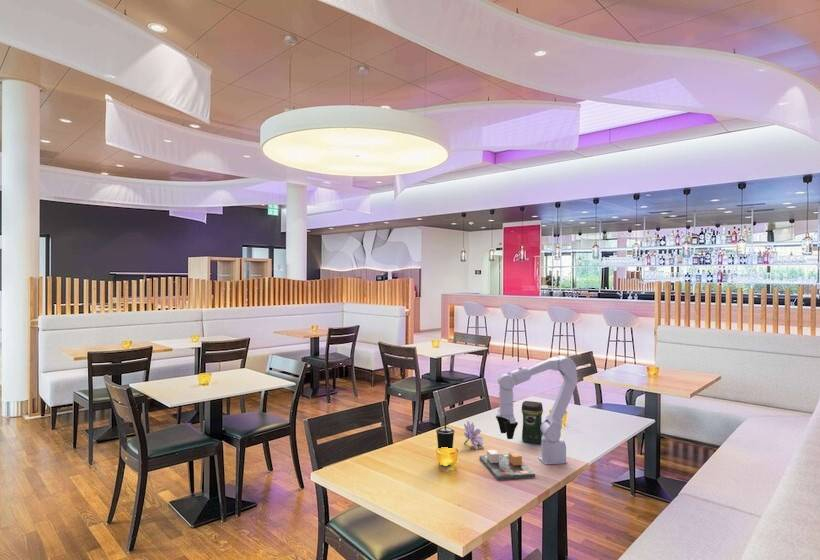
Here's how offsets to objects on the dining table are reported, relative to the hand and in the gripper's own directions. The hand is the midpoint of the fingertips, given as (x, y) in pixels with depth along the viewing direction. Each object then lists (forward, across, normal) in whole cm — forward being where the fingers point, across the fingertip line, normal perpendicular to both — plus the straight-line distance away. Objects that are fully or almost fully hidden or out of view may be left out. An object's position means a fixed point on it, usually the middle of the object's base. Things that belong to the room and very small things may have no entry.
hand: (506, 435), depth 200 cm
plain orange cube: (+9, +8, +1) cm, 11 cm away
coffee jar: (+11, -21, +21) cm, 32 cm away
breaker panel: (+10, +8, -3) cm, 13 cm away
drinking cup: (+10, -1, -26) cm, 28 cm away
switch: (+9, +4, -7) cm, 12 cm away
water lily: (+10, -20, -8) cm, 24 cm away
